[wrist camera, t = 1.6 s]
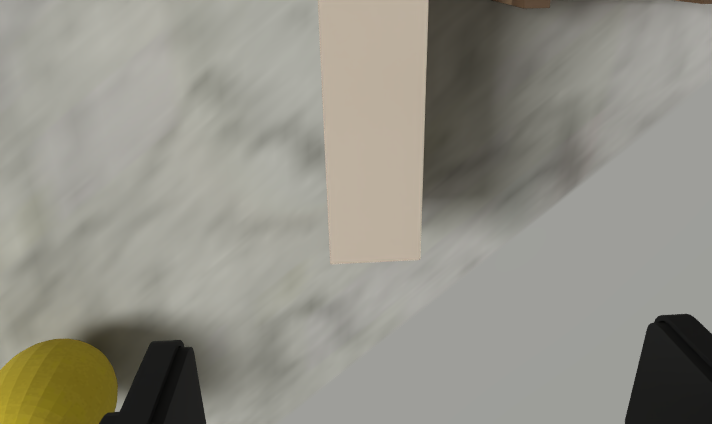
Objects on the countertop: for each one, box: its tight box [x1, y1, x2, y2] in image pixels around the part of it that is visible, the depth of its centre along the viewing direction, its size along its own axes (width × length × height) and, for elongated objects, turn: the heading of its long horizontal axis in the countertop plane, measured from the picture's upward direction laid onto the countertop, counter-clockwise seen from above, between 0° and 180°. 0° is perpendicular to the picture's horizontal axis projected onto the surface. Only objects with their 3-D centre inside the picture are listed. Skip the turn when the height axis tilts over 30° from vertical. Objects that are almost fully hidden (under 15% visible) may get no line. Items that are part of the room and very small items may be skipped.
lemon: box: [0, 339, 118, 424], centre depth 26 cm, size 6×6×8 cm
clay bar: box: [318, 0, 428, 264], centre depth 21 cm, size 14×4×6 cm, turn 1°
